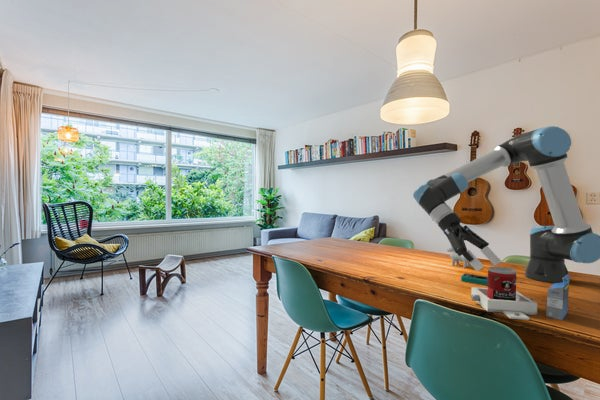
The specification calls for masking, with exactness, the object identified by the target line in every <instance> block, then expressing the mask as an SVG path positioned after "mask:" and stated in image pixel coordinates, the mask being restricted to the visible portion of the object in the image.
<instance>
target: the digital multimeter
mask: <svg viewBox="0 0 600 400" xmlns="http://www.w3.org/2000/svg"><path fill="white" fill-rule="evenodd" d="M460 276H461V278H460V281H461V282H462V281H463V283H468V282H469V284H474V283H475V285H480V284H481V286H487V287H488V276H484V275H479V274H473V273H467V272H466V273H463V274H462V275H460Z"/></svg>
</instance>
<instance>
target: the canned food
mask: <svg viewBox="0 0 600 400" xmlns="http://www.w3.org/2000/svg"><path fill="white" fill-rule="evenodd" d="M487 277H488V286H487V288H488V298H490V299H496V300H510V301H516V291H517V270H515V269H513V268H510V267H505V266H488V268H487Z"/></svg>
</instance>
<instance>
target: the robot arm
mask: <svg viewBox="0 0 600 400" xmlns="http://www.w3.org/2000/svg"><path fill="white" fill-rule="evenodd" d="M571 146H572V138H571V136H570V134H569V133H568V131H566V130H565V129H563V128H561V127H559V126H554V125H551V126H545V127H539V128H537V129H534V130H531V131H527V132H522V133H520V134H517V135H516V136H514V137H511V138H510V139H509V140H506V141H505V142H503V143H501V144H499V145H497V146H495V147H493V149H492V151H490V152H488V153H486V154H484V155H482V156H479V157H477V158H475V159H473V160H471V161H469V162H468V163H465V164H462V165H461V166H458V167H456V168H455V169H453V170H450V171H448V172H446V173H444V174H442V175H441V176H438V177H436V178H434V179H433V178H432V179H429V180H427V181H425V183H424V184H422V185H420V186H418V187H417V188H416V189H415V190H414V192H413V194H412V197H413V199H415V201H416V203H417V204H418V206H420V207H421V208H422V209H423V210H424V211H425V213H427V214H428V216H429V218H431V221H433V222H434V223H435V224H437V226H438V227H439V228H440V230H441V231H442V232H443V234H444V235H445V236H446V238H447V239H448V241H449V243H450V246H451V245H452V247H453V249H454V251H455V252H456V253H457V254H458V255H459V256H461V255H463V256H464V258H465V259H466V260H467V261H468V262H469V263H470V264H471V267H472V268H473V269H474V270H475V271H476V272H478V271H480V270H481V269H483V268H484V267H485V265H484V264H483V263H482V262H481V260H479V258H477V257H476V255H475V254H474V253H473V252H472V250H470V249H468V248H467V246H466V243H465V241H467V242H469V243H470V244H471V245H473V246H475V247H476V248H478V249H479V250H480V252H481V253H482V254H483V255H484V256H485V258H487V260H488V261H490V263H491V264H492V266H493V267H496V266H497V265H498V264H500V263H501V262H502V260H501V259H500V258H499V257H498V256H497V255H496V254H495V253H494V251H492V249H491V248H490V247H489V245H490V243H489V242H487V241H486V240H485V239H483V238H482V237H481V236H479V234H477V233H475V231H473V230H472V229H471V228H470V227H468V225H466V224H465V225H464V226H462V225H461V223H462V218H461V217H459V215H458V214H457V213H456V212H454V210H453V209H452V208H451V207H450V206H449V204H447V201H448V200H450V199H452V198H454V197H455V196H457V195H459V194H461V193H463V192H464V191H465V190H467V189H468V187H469V182H471V181H474V180H476V179H478V178H480V177H481V176H482V177H483V176H485V175H486V174H488V173H490V172H492V171H494V170H497V169H499V168H501V167H505V168H506V167H509V166H511V165H514V164H516V163H517V164H518V163H521V162H527V161H528V164H529V167H530V168H533V169H534V170H535V171H536V173H537V177H538V179H539V181H540V186H541V188H542V191H543V195H544V196H545V197H544V198H545V200H546V203H547V204H546V205H547V206H548V207H547V208H548V211H549V212H550V215H551V219H552V221H553V225H536V226H532V227H531V228H530V234H529V246H530V247H529V261H528V263H527V265H526V268H525V269H524V276H525V277H527V278H528V279H531V280H536V281H539V282H545V283H552V284H554V283H562V282H563V279H562V278H564V277H565V276H566V275H568V274H569V283H570V282H571V276H570V273H569V271H568V269H567V266H566V263H565V261H566V260H568V261H573V262H575V263H579V264H581V263H583V264H593V263H595V262H597V261H599V260H600V235H599V234H597V233H594V232H593V228H592V226H591V224H590V223H588V222H585V221H584V219H583V216H582V213H581V210H580V207H579V204H578V201H577V197H576V195H575V193H574V189H573V186H572V183H571V180H570V176H569V174H568V171H567V168H566V167H567V166H566V165H565V161H567V159H568V154H567V153H568V152H569V150H570V148H571ZM457 248H458V249H457ZM566 282H567V279H566Z"/></svg>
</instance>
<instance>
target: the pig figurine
mask: <svg viewBox="0 0 600 400" xmlns="http://www.w3.org/2000/svg"><path fill="white" fill-rule="evenodd" d="M457 249H458V248H457ZM446 251H447V252H448V253H450V254H449V256H450V259H451V266H455V265H456V266H457V265H459V264H460V262H463V266H462V268H463V269H467V268H471V267H472V265H471V264H470V263H469V262H468V261H467V260H466V259H465V258H464V256H463V255H461V256H459V255H458V254H457V253H456V252H455V251H454V249H453V247H452V245H451V244H450V246H447V247H446Z"/></svg>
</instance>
